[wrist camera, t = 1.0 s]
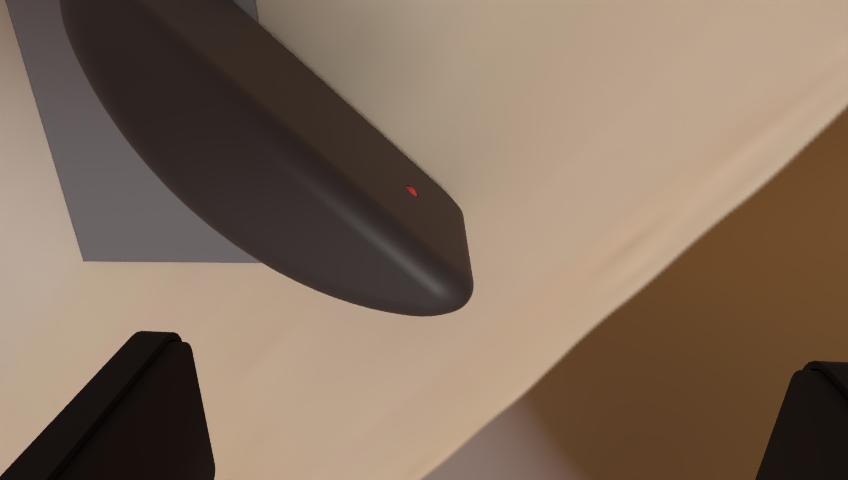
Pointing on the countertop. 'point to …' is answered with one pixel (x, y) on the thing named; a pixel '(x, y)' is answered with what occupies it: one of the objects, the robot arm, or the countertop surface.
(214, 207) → the leaning round-cornered charcoal block
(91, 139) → the mat
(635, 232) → the countertop surface
